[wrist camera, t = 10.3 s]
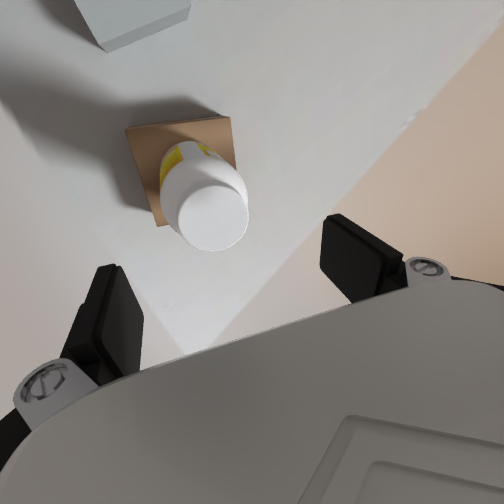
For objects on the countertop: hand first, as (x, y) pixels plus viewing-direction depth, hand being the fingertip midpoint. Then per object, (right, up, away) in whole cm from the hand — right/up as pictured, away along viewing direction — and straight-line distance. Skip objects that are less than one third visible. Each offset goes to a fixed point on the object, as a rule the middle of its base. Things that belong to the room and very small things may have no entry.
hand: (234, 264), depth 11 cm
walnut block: (-7, +11, +18) cm, 22 cm away
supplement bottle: (-6, +9, +15) cm, 19 cm away
